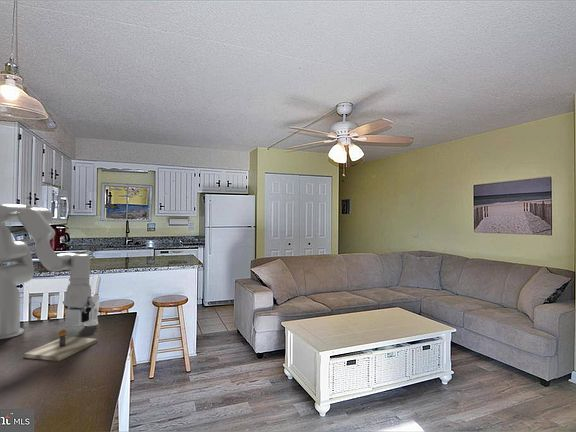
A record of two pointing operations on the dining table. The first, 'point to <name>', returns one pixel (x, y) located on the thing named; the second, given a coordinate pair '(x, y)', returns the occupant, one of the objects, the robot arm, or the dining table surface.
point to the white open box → (75, 316)
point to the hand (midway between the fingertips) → (78, 320)
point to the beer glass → (94, 311)
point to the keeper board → (60, 347)
